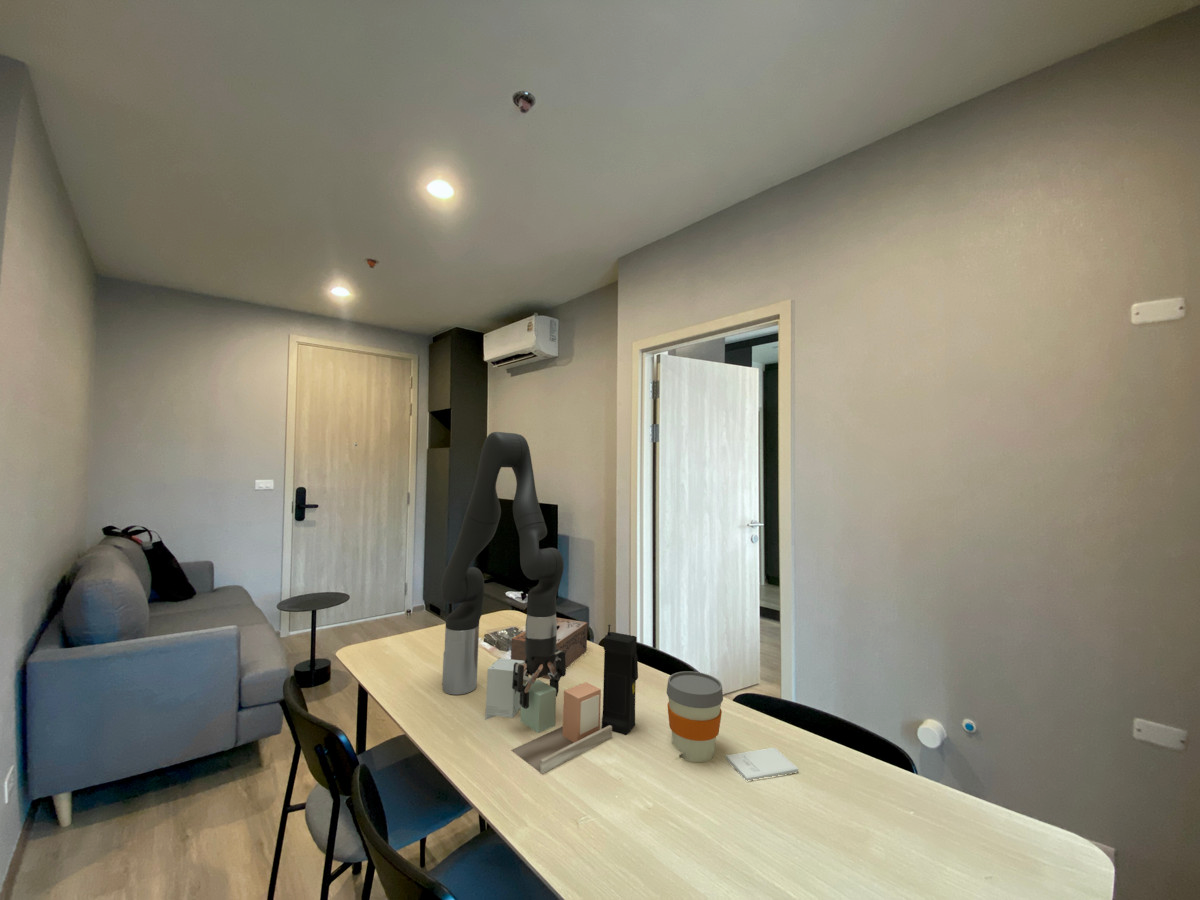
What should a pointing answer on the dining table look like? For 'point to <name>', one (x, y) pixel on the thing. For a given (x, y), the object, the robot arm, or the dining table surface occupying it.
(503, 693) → the supplement box
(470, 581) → the robot arm
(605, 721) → the portable radio
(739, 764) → the external hard drive
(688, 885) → the dining table surface
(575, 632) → the tissue box cover
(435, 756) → the dining table surface
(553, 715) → the tea tin
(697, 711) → the reusable coffee cup
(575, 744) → the shallow tray
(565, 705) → the terracotta tin
